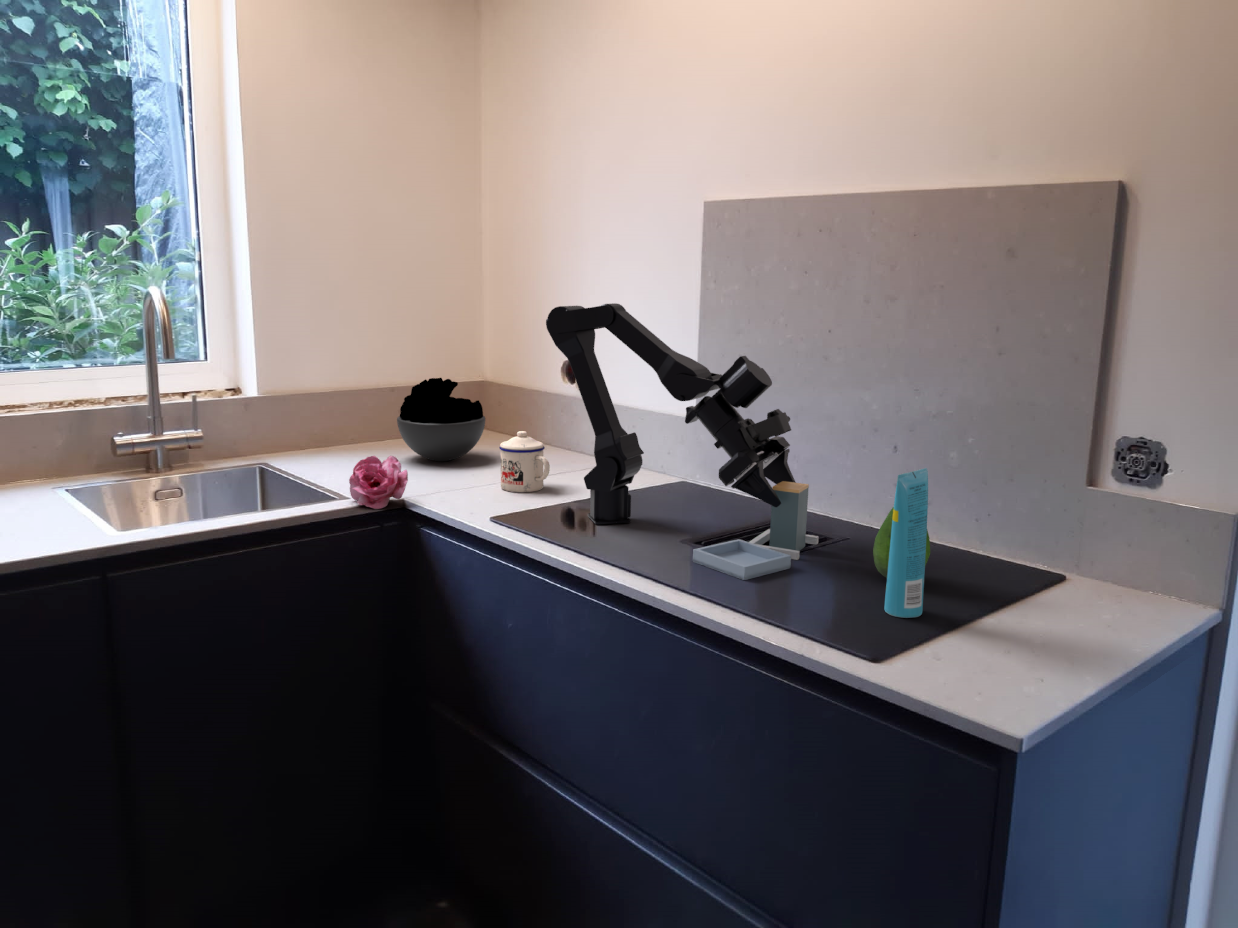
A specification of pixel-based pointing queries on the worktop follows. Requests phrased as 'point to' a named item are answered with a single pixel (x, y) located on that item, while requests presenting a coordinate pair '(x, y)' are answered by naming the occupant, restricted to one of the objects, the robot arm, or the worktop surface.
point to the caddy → (789, 516)
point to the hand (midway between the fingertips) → (788, 499)
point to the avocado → (888, 545)
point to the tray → (741, 559)
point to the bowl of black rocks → (440, 421)
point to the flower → (377, 481)
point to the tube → (908, 546)
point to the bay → (794, 554)
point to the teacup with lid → (523, 464)
